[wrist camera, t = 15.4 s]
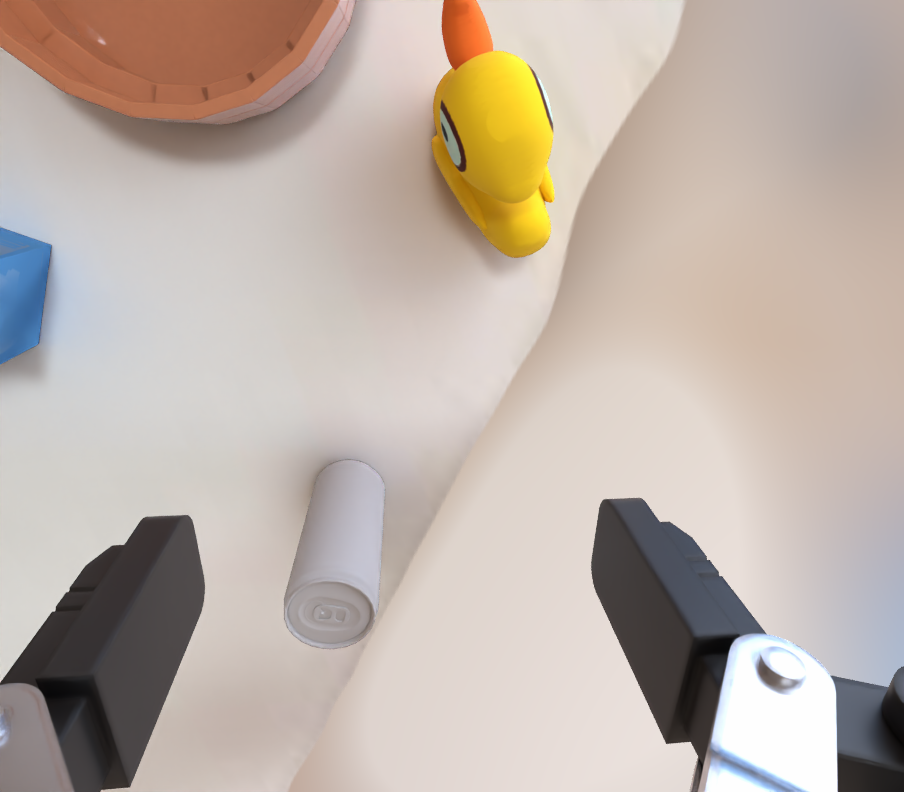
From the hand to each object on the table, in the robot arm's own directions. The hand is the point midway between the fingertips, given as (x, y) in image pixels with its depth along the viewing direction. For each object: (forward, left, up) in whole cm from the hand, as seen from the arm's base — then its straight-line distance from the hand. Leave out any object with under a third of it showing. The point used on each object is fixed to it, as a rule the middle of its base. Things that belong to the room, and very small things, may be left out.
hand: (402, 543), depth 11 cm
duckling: (+4, +7, -25) cm, 26 cm away
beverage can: (-4, -14, -25) cm, 29 cm away
